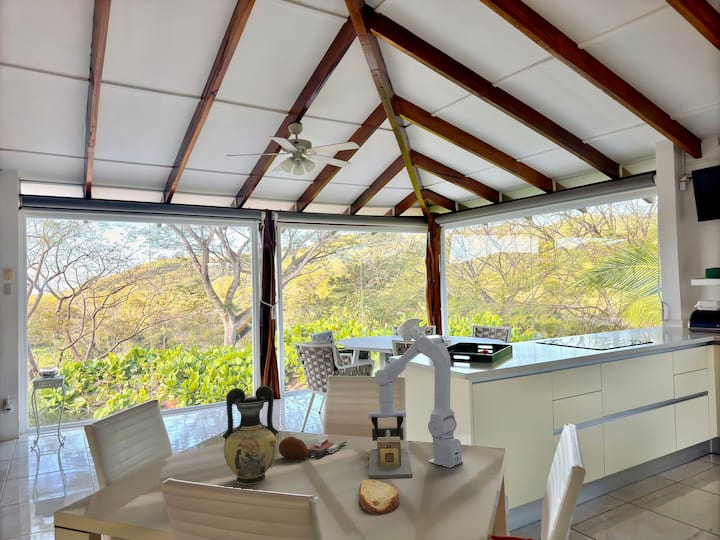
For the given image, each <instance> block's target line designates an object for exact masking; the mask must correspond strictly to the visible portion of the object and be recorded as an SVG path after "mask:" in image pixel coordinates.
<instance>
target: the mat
mask: <svg viewBox="0 0 720 540" xmlns="http://www.w3.org/2000/svg"><path fill="white" fill-rule="evenodd" d="M408 452H409V451H408V449H401V465H399V467H381V466H378V455H377V450H369V461H368V462H369V464H368V479H385V478H386V479H390V478H391V479H392V478H398V479H399V478H413V472H412V468H411V467H412V465H411V461H410V457H409V453H408Z"/></svg>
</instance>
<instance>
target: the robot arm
mask: <svg viewBox="0 0 720 540" xmlns="http://www.w3.org/2000/svg"><path fill="white" fill-rule="evenodd" d="M419 354H422V355H423V356H425V357H427V358H428V359H430V360H431V361H432V362H433V363H434V394H433V395H434V404H433V405H434V407H433V410H432V411H431V413H430V416H429V417H430V418H429V421H428V423H427V429H428V432H429V433H430V435H431V438H432V450H433V452H432V453H433V458H432V459H429V460H428V461H427V462H428V463H431V464H435V465H438V466H441V465H442V467H445V468H453V467H456V466H458V465H460V464H462V463H461V462H463V463H464V460H463V455H462V453H463V452H462V443H461V441H460V439H458V438H456V437H455V436H454V434H455V431H456V428H457V426H458V425H457V421H456V420H457V419H456V417H455V411H454V410H453V409H451V362H452V361H451V355H450V352H449V351H448V348H447V341H446V339H444V337H442V336H441V335H440V334H433V335H432V334H431V335H422V336H421V335H420V336H419V337H418V338H417V339H416V340H414V341H413V343H412V344H411V346H409V348H408V349H407V350H406V351H405V352H404V353H403V354H402V355H400V357H397V356H396V357H392V358H391V359H390V362H389V363H388V364H386V365H384V366H383V369H377V371H376V372H375V375H374V380H375V382H376V383H377V385H378V402H379V403H378V405H379V411H372V412H371V411H369V412H368V414H367V417H368V419H370V420H371V423H372V426H373V428H375V430H376V434H377V437H379V431H378V428H379V421H378V420H379V419H381V418H382V419H383V418H389V419H390V418H396V427H397V437H399V432H400V428H401V427H402V425H403V422H404V418H407V412H406V411H405V410H402V411H401V410H400V411H399V410H395V401H394V400H395V399H394V398H395V396H394V395H395V393H394V392H395V391H394V387H395V382H396V380H397V377H399V376H400V374H402V373H403V372H404V371H405V370H406V369H407V364H409V362H411V361H412V360H414V359H415V358H416V357H417V356H418V355H419ZM459 463H460V464H459ZM457 464H458V465H457ZM455 465H456V466H455Z"/></svg>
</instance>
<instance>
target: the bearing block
mask: <svg viewBox="0 0 720 540" xmlns="http://www.w3.org/2000/svg"><path fill="white" fill-rule="evenodd" d="M401 441H402V440H400V437H377V441H376V447H377V448H376V451H377V455H378V466H381V457H380V447H386V446H392V447H398V461H399V465H401V450H402V449H401V448H402V446H401V445H402V444H401V443H402V442H401ZM385 461H394V453H385Z"/></svg>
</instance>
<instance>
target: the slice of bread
mask: <svg viewBox="0 0 720 540" xmlns="http://www.w3.org/2000/svg"><path fill="white" fill-rule="evenodd" d="M358 503H359V504H360V506H361V507H362V509H364V511H366V512H367V513H369V514H373V515H376V516H382V515H387V514H390V513H392V512H393V510H394V509H397V508H398V507H399V505H400V495H399V491H398V489H397V488H396V487H394V486H392V485H391V484H388V482H384V481H381V480H375V479H362V480H361V482H360V485H359V492H358Z"/></svg>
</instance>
